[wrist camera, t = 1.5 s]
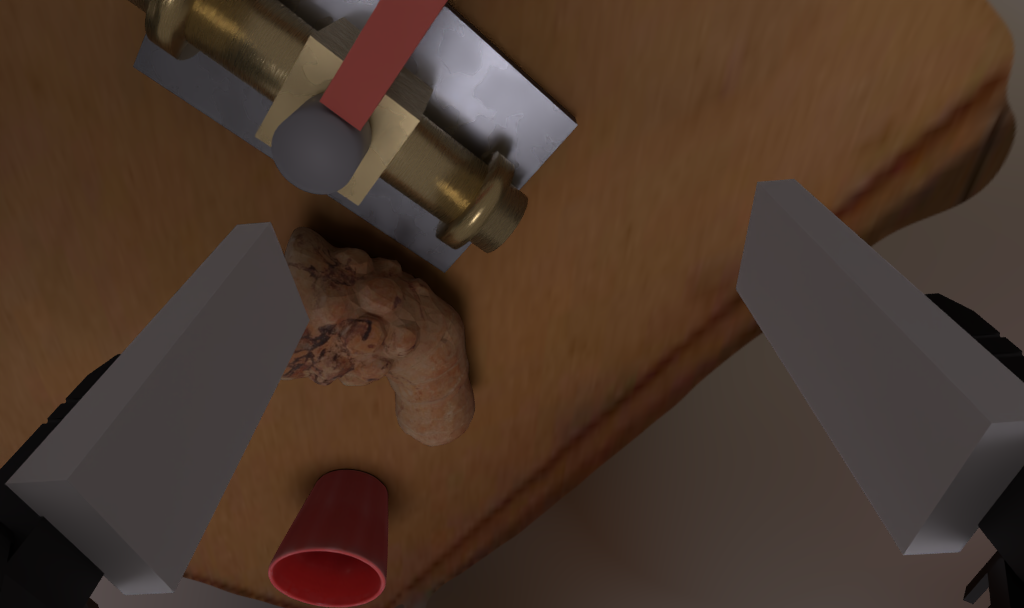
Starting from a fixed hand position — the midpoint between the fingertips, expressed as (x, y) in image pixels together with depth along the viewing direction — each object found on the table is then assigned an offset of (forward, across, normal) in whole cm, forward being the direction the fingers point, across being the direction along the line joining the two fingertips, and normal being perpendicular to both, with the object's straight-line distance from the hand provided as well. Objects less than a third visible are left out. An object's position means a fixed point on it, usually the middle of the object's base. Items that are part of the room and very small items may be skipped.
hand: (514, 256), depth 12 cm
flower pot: (+24, -21, -42) cm, 53 cm away
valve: (+24, -9, -2) cm, 25 cm away
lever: (+16, -4, +3) cm, 17 cm away
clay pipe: (+24, -12, -18) cm, 33 cm away
